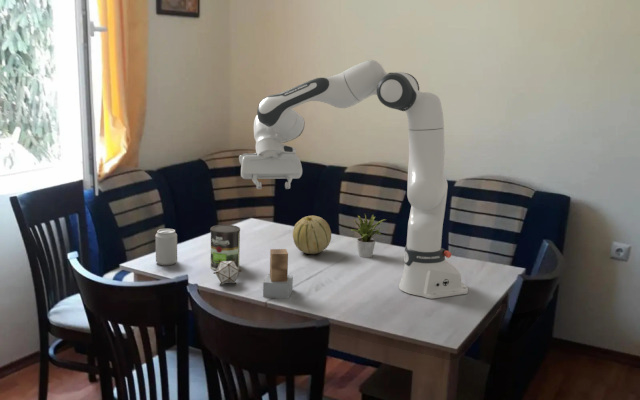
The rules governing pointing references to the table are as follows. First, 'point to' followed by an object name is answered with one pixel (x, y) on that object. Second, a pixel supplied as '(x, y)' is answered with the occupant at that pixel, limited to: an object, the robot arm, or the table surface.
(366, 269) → the table surface
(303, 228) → the cantaloupe
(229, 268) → the game die
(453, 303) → the table surface
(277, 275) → the walnut block
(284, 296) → the base block
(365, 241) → the house plant
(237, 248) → the coffee can
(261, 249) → the table surface
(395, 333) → the table surface
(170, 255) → the can
